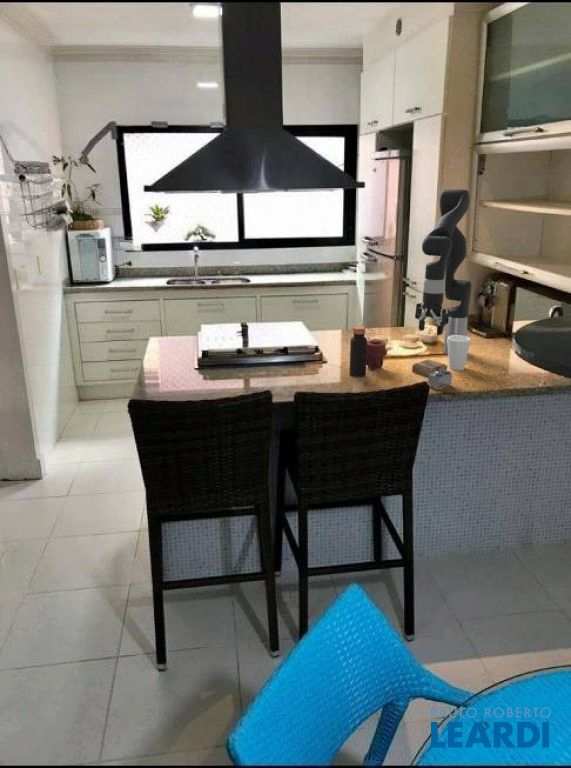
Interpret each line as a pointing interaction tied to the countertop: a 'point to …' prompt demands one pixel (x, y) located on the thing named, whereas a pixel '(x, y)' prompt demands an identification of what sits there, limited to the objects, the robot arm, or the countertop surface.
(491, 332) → the countertop surface
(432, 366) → the stand
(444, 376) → the housing
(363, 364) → the bottle
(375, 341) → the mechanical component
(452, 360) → the foam cup
